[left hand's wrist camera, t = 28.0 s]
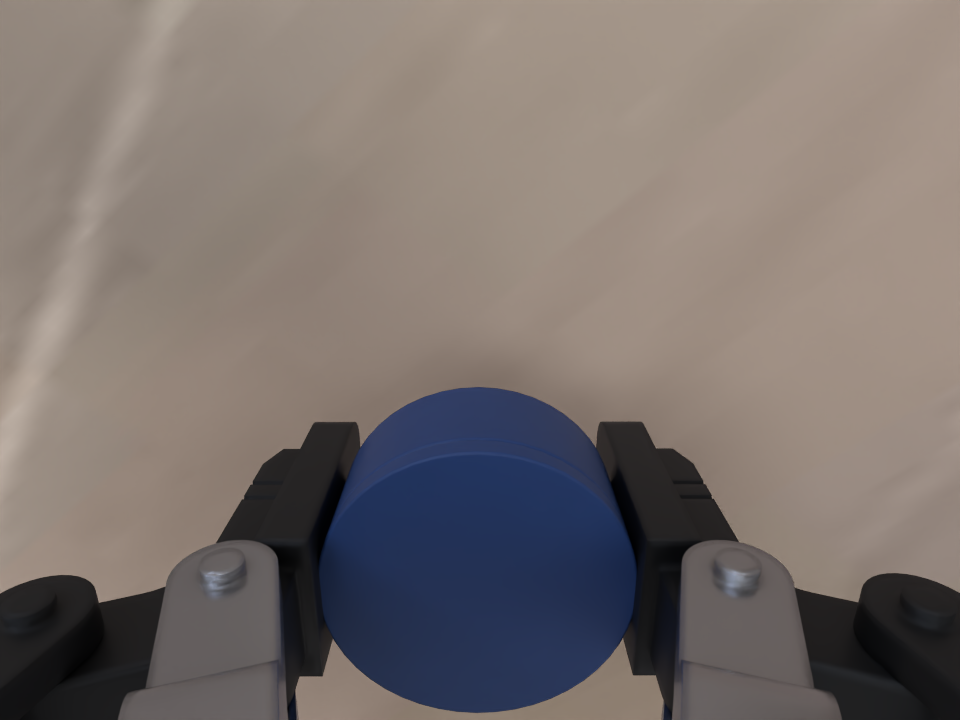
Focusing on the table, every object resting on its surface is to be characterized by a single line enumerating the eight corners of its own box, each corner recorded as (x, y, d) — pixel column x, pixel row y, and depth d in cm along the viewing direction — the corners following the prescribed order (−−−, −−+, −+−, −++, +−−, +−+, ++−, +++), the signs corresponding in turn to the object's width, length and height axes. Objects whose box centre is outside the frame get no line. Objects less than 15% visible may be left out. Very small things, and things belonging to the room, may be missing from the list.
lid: (661, 529, 11) (699, 619, 9) (455, 651, 12) (450, 757, 10) (506, 330, 10) (512, 387, 8) (290, 485, 11) (247, 568, 9)
